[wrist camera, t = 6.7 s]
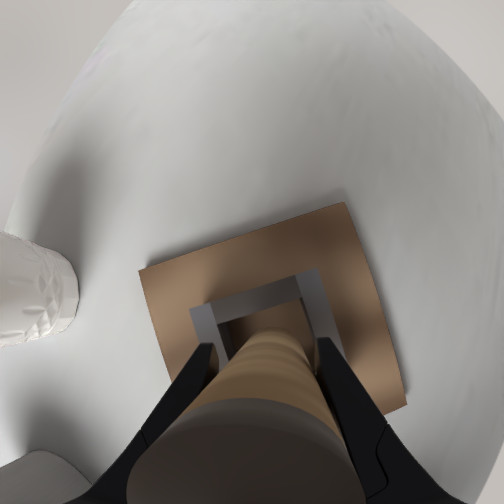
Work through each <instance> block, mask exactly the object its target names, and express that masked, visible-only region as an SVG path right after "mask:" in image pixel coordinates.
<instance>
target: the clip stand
mask: <svg viewBox="0 0 504 504" xmlns="http://www.w3.org/2000/svg"><path fill="white" fill-rule="evenodd" d="M138 272H139V276H140V280H141V284H142V287H143V291H144V295H145V299H146V302H147V306H148V309H149V313H150V316H151V320H152V323H153V326H154V330H155V333H156V336H157V340H158V343H159V346H160V349H161V352H162V355H163V358H164V361H165V364H166V367H167V370H168V373H169V376H170V379H171V382H173V381H174V380H175V378H176V377H177V375H178V374H179V372H180V371H181V369H182V368H183V367H184V365H185V364H186V362H187V361H188V359H189V358H190V356H191V355H192V354H193V352H194V351H195V349H196V348H197V346H198V345H199V344H200V343H202V342H213V343H214V345H215V347H216V351H217V354H218V357H219V372H220V371H221V370H222V369H223V368H224V367H225V366H226V365H227V363H228V362H229V361H230V360H231V359H232V358H233V357H234V356H235V354H236V353H237V352H238V351H239V350H240V349H241V348H242V346H243V345H244V344H245V343H246V342H247V341H248V340H249V338H250V337H251V336H252V335H253V334H254V333H256V332H257V331H259V330H261V329H263V328H267V327H280V328H284V329H286V330H288V331H290V332H291V333H293V334H294V335H295V336H296V337H297V338H298V340H299V341H300V343H301V346H302V348H303V350H304V352H305V355H306V357H307V359H308V362H309V364H310V366H311V368H312V371H313V373H314V375H315V378H316V374H315V360H314V353H315V340H316V338H318V337H330V338H331V339H332V341H333V342H334V344H335V345H336V347H337V348H338V350H339V351H340V352H341V354H342V355H343V357H344V358H345V360H346V361H347V363H348V364H349V366H350V367H351V369H352V370H353V371H354V373H355V374H356V376H357V377H358V379H359V380H360V382H361V383H362V385H363V386H364V388H365V389H366V391H367V392H368V394H369V395H370V397H371V398H372V399H373V401H374V402H375V404H376V405H377V407H378V408H379V410H380V411H381V413H382V414H383V415H385V414H388V413H390V412H392V411H395V410H397V409H399V408H401V407H403V406H406V405H407V402H406V397H405V393H404V388H403V384H402V380H401V376H400V372H399V368H398V364H397V360H396V356H395V352H394V349H393V345H392V341H391V338H390V334H389V330H388V327H387V324H386V320H385V317H384V313H383V310H382V307H381V304H380V300H379V297H378V294H377V291H376V288H375V285H374V282H373V279H372V276H371V273H370V270H369V267H368V264H367V261H366V258H365V255H364V252H363V249H362V247H361V244H360V241H359V238H358V236H357V233H356V230H355V228H354V225H353V222H352V220H351V217H350V214H349V212H348V209H347V207H346V204H345V202H341V203H338V204H335V205H332V206H329V207H326V208H322V209H319V210H316V211H313V212H310V213H307V214H304V215H301V216H298V217H295V218H292V219H289V220H286V221H283V222H280V223H276V224H273V225H270V226H267V227H264V228H261V229H258V230H255V231H252V232H249V233H246V234H243V235H240V236H237V237H235V238H232V239H229V240H226V241H223V242H220V243H217V244H214V245H211V246H208V247H205V248H202V249H199V250H196V251H193V252H190V253H188V254H185V255H182V256H179V257H176V258H173V259H170V260H167V261H165V262H162V263H159V264H156V265H153V266H150V267H147V268H145V269H142V270H139V271H138Z"/></svg>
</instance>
